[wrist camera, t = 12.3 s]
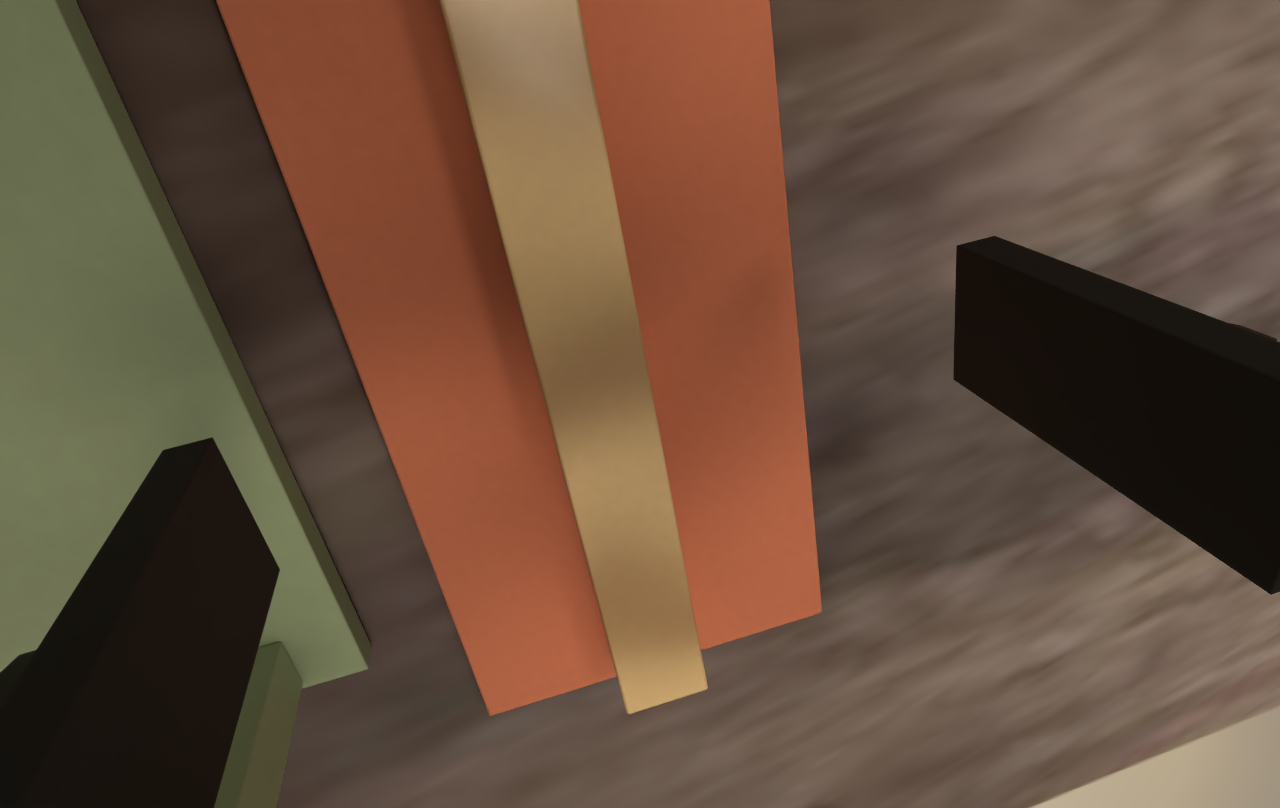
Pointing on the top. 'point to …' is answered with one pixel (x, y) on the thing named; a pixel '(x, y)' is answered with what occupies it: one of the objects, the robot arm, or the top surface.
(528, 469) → the mat
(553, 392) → the hanger bar
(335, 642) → the rack
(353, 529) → the top surface
